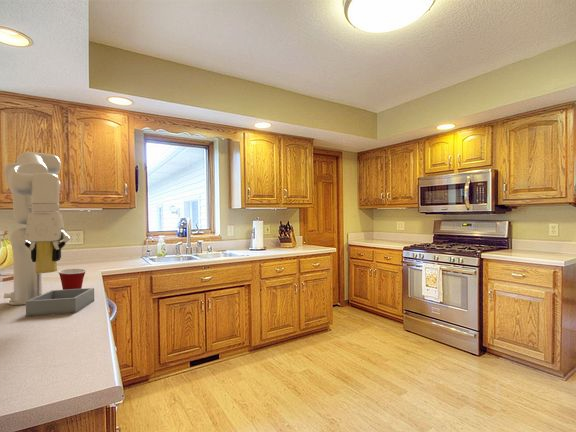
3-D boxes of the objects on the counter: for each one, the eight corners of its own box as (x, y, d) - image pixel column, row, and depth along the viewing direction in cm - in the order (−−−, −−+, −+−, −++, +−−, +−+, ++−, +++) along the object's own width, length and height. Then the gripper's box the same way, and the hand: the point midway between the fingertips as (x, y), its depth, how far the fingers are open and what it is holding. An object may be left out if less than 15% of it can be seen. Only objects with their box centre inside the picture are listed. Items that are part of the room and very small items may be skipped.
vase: (31, 273, 105) (30, 231, 105) (40, 270, 111) (39, 230, 111) (52, 272, 107) (52, 230, 107) (60, 269, 113) (59, 230, 113)
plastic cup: (72, 299, 137) (72, 272, 137) (51, 298, 139) (51, 271, 139) (92, 293, 148) (92, 268, 148) (73, 293, 150) (72, 267, 150)
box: (25, 316, 113) (25, 301, 113) (51, 303, 131) (51, 290, 131) (75, 313, 117) (75, 298, 117) (94, 300, 134) (94, 287, 135)
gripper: (10, 208, 104) (10, 263, 104) (68, 208, 107) (69, 261, 107) (23, 209, 111) (24, 260, 111) (78, 209, 115) (78, 258, 115)
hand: (46, 260), depth 109 cm, fingers closed on vase, 5 cm apart
